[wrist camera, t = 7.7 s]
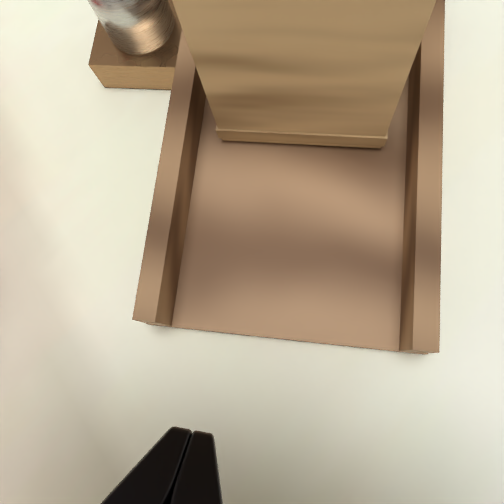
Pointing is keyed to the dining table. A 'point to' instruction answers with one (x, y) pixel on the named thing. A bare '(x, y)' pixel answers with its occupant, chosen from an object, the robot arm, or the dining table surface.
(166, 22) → the post
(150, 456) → the robot arm
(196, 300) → the bay
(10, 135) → the dining table surface
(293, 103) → the tall wooden block
